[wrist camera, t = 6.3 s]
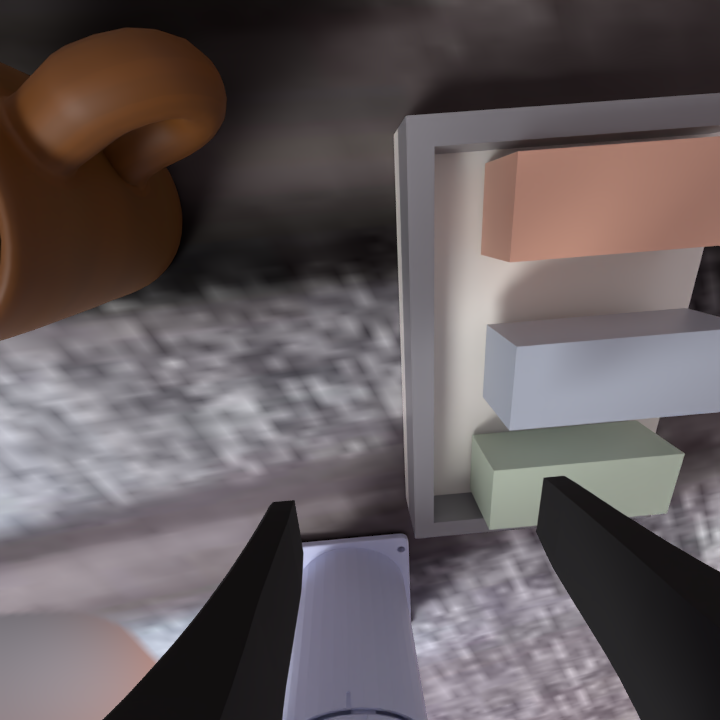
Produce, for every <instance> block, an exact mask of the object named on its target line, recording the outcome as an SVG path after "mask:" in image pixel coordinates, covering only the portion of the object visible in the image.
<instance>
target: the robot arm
mask: <svg viewBox="0 0 720 720" xmlns="http://www.w3.org/2000/svg"><path fill="white" fill-rule="evenodd" d="M536 532H537V535H538V537H539V539H540V541H541V543H542V546H543V548H544V550H545V552H546V554H547V556H548V558H549V561H550V563H551V565H552V567H553V569H554V570H555V572H556V574H557V575H558V577H559V579H560V580H561V582H562V584H563V585H564V587H565V589H566V590H567V592H568V594H569V595H570V597H571V599H572V600H573V602H574V603H575V605H576V607H577V608H578V610H579V611H580V613H581V615H582V616H583V618H584V620H585V621H586V623H587V624H588V626H589V628H590V629H591V631H592V633H593V634H594V636H595V637H596V639H597V641H598V642H599V644H600V646H601V647H602V649H603V650H604V652H605V654H606V655H607V657H608V659H609V661H610V662H611V664H612V666H613V668H614V669H615V671H616V673H617V675H618V676H619V678H620V680H621V682H622V684H623V686H624V688H625V690H626V692H627V694H628V696H629V698H630V700H631V702H632V703H633V705H634V707H635V709H636V711H637V713H638V715H639V717H640V719H641V720H720V572H719V571H717V570H715V569H714V568H712V567H710V566H708V565H706V564H705V563H703V562H701V561H699V560H698V559H696V558H694V557H692V556H691V555H689V554H687V553H686V552H684V551H682V550H681V549H679V548H677V547H676V546H674V545H672V544H670V543H669V542H667V541H665V540H664V539H662V538H661V537H659V536H657V535H656V534H654V533H652V532H651V531H649V530H648V529H646V528H645V527H643V526H641V525H640V524H638V523H637V522H635V521H634V520H632V519H630V518H629V517H627V516H626V515H624V514H623V513H621V512H620V511H618V510H617V509H615V508H614V507H612V506H611V505H609V504H607V503H606V502H604V501H603V500H601V499H600V498H598V497H597V496H595V495H594V494H592V493H591V492H589V491H588V490H586V489H585V488H583V487H582V486H580V485H579V484H577V483H575V482H574V481H572V480H571V479H569V478H567V477H566V476H556V477H545V478H543V485H542V492H541V500H540V507H539V514H538V522H537V529H536ZM103 720H428V719H427V713H426V707H425V702H424V696H423V690H422V684H421V678H420V672H419V667H418V661H417V655H416V649H415V643H414V637H413V632H412V626H411V607H410V575H409V543H408V538H407V536H406V535H405V534H400V533H399V534H389V535H378V536H367V537H356V538H346V539H335V540H324V541H313V542H303V543H302V541H301V535H300V530H299V524H298V518H297V513H296V507H295V501H294V500H292V501H281V502H273V503H272V504H271V505H270V506H269V508H268V510H267V512H266V513H265V515H264V517H263V519H262V520H261V522H260V524H259V525H258V527H257V529H256V530H255V532H254V534H253V535H252V537H251V539H250V540H249V542H248V543H247V545H246V546H245V548H244V550H243V551H242V553H241V554H240V556H239V557H238V559H237V560H236V562H235V563H234V565H233V566H232V568H231V569H230V571H229V572H228V574H227V575H226V576H225V578H224V579H223V581H222V582H221V583H220V585H219V586H218V587H217V589H216V590H215V592H214V593H213V594H212V596H211V597H210V599H209V600H208V601H207V603H206V604H205V605H204V607H203V608H202V609H201V610H200V612H199V613H198V614H197V616H196V617H195V618H194V619H193V621H192V622H191V623H190V624H189V626H188V627H187V628H186V629H185V631H184V632H183V633H182V634H181V635H180V637H179V638H178V639H177V640H176V641H175V643H174V644H173V645H172V646H171V647H170V648H169V650H168V651H167V652H166V653H165V654H164V655H163V656H162V657H161V659H160V660H159V661H158V662H157V663H156V664H155V665H154V667H153V668H152V669H151V670H150V671H149V672H148V673H147V674H146V676H145V677H144V678H143V679H142V680H141V681H140V682H139V683H138V684H137V685H136V686H135V687H134V689H132V691H131V692H130V693H129V694H128V695H127V696H126V697H125V698H124V699H123V700H122V701H121V702H120V703H119V704H118V705H117V706H116V707H115V708H114V709H113V710H112V711H111V712H110V713H109V714H108V715H107V716H106V717H105V718H104V719H103Z"/></svg>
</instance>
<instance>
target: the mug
mask: <svg viewBox="0 0 720 720" xmlns="http://www.w3.org/2000/svg"><path fill="white" fill-rule="evenodd" d="M226 103H227V96H226V92H225V88H224V84H223V82H222V79H221V76H220V74H219V72H218V70H217V69H216V67H215V66H214V64H213V63H212V61H211V60H210V59H209V58H208V57H207V56H206V55H204V54H203V53H202V52H201V51H200V50H198V49H197V48H196V47H195V46H194V45H192V44H191V43H190V42H189V41H188V40H186V39H184V38H181V37H178V36H175V35H172V34H169V33H166V32H163V31H159V30H156V29H146V28H128V27H126V28H121V29H117V30H112V31H107V32H103V33H98V34H93V35H91V36H88V37H86V38H83V39H80V40H78V41H75V42H73V43H70V44H67V45H65V46H63V47H62V48H60V49H59V50H57V51H55V52H54V53H52V54H51V55H50V56H49V57H48V58H47V59H46V60H45V61H44V62H43V63H42V64H41V66H40V67H39V68H38V69H37V70H36V71H35V72H34V73H33V74H32V75H31V76H30V75H27V74H25V73H23V72H21V71H19V70H16V69H14V68H12V67H10V66H7V65H5V64H3V63H1V62H0V341H1V340H4V339H7V338H11V337H14V336H17V335H20V334H23V333H26V332H29V331H32V330H35V329H37V328H40V327H43V326H45V325H48V324H51V323H54V322H56V321H59V320H62V319H64V318H67V317H70V316H73V315H75V314H78V313H81V312H84V311H86V310H89V309H92V308H94V307H97V306H99V305H102V304H104V303H107V302H109V301H112V300H114V299H117V298H120V297H122V296H125V295H128V294H131V293H133V292H135V291H137V290H139V289H141V288H143V287H145V286H147V285H149V284H150V283H152V282H153V281H155V280H156V279H157V278H158V277H159V276H160V275H161V274H162V273H163V272H164V271H165V270H166V269H167V268H168V266H169V265H170V264H171V262H172V261H173V259H174V257H175V255H176V253H177V250H178V247H179V244H180V240H181V234H182V209H181V204H180V199H179V195H178V192H177V189H176V186H175V184H174V182H173V179H172V177H171V175H170V173H169V171H168V169H167V168H166V167H167V166H169V165H171V164H173V163H175V162H177V161H180V160H182V159H183V158H185V157H187V156H189V155H191V154H193V153H194V152H196V151H197V150H199V149H200V148H202V147H203V146H204V145H206V144H207V143H208V142H209V141H210V140H211V139H212V138H213V137H214V136H215V134H216V133H217V131H218V130H219V128H220V126H221V125H222V123H223V121H224V119H225V113H226Z"/></svg>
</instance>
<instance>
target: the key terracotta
mask: <svg viewBox="0 0 720 720" xmlns="http://www.w3.org/2000/svg"><path fill="white" fill-rule="evenodd" d="M708 246H720V136H715V137H702V138H689V139H675V140H662V141H649V142H635V143H622V144H609V145H595V146H582V147H569V148H555V149H542V150H529V151H518V152H515V153H512V154H509V155H507V156H504V157H501V158H499V159H496V160H493V161H491V162H488V163H485V178H484V200H483V221H482V242H481V255H484V256H488V257H492V258H495V259H499V260H503V261H506V262H521V261H534V260H546V259H559V258H571V257H583V256H596V255H608V254H621V253H633V252H646V251H658V250H671V249H683V248H695V247H708Z"/></svg>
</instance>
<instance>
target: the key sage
mask: <svg viewBox="0 0 720 720" xmlns="http://www.w3.org/2000/svg"><path fill="white" fill-rule="evenodd" d="M684 455H685V453H683V452H682V451H680V450H679V449H677V448H676V447H674V446H673V445H672V444H670V443H669V442H667V441H666V440H664V439H663V438H661V437H660V436H658V435H657V434H656V433H654V432H653V431H651V430H650V429H648V428H647V427H645V426H644V425H643V424H641V423H640V422H638V421H637V420H636V421H624V422H613V423H602V424H591V425H579V426H568V427H557V428H546V429H534V430H523V431H512V432H500V433H489V434H478V435H472V452H471V473H470V490H471V492H472V494H473V496H474V498H475V501H476V503H477V505H478V507H479V509H480V511H481V513H482V515H483V518H484V520H485V522H486V524H487V526H488V528H489V530H495V529H505V528H516V527H527V526H537V522H538V514H539V507H540V500H541V492H542V485H543V478H545V477H556V476H566V477H567V478H569V479H571V480H572V481H574V482H575V483H577V484H579V485H580V486H582V487H583V488H585V489H586V490H588V491H589V492H591V493H592V494H594V495H595V496H597V497H598V498H600V499H601V500H603V501H604V502H606V503H607V504H609V505H611V506H612V507H614V508H615V509H617V510H618V511H620V512H621V513H623V514H624V515H626V516H627V517H634V516H645V515H655V514H666V513H667V511H668V508H669V504H670V501H671V498H672V494H673V491H674V488H675V484H676V481H677V478H678V474H679V471H680V468H681V465H682V461H683V458H684Z"/></svg>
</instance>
